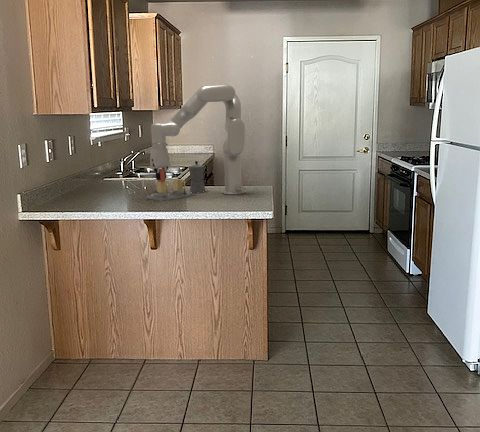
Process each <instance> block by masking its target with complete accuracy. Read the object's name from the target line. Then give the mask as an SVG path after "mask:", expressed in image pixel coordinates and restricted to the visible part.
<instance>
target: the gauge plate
mask: <svg viewBox="0 0 480 432" xmlns="http://www.w3.org/2000/svg"><path fill="white" fill-rule="evenodd" d="M172 185H173V186H172V187H173V188H172V189H173V190H170V191H169V195H168V191H167V192H164V193H159V192H156V193H150V195H146V196H145V199H148V200H151V201H152V200H153V201H159V202H162V201H163V202H165V201H168V200H169V201H170V200H176V199H181V198H188V197H194V196H196V195H197V193H191V192H190V191H186V180H185V179H180V178H176V179H173V180H172Z"/></svg>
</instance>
